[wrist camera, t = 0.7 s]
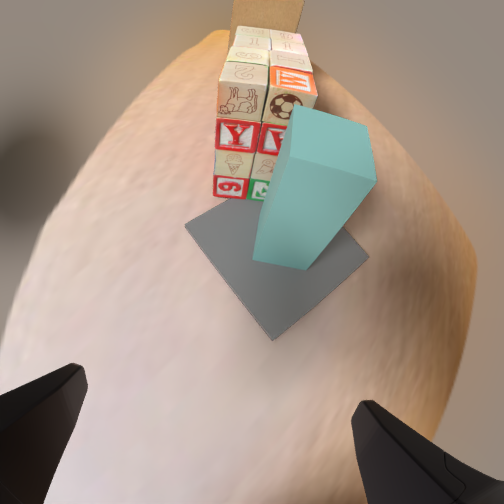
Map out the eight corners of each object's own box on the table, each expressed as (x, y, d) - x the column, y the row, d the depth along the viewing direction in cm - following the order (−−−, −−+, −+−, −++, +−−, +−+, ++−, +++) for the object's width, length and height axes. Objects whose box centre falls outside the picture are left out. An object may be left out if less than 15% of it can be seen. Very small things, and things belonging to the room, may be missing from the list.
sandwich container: (283, 51, 43) (300, -16, 30) (282, 88, 36) (306, -1, 23) (237, 43, 42) (248, -25, 29) (223, 79, 36) (235, -13, 22)
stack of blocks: (234, 82, 35) (244, 6, 24) (278, 88, 36) (296, 13, 25) (212, 197, 26) (217, 77, 15) (280, 205, 26) (319, 92, 15)
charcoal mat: (366, 259, 26) (369, 256, 25) (272, 340, 21) (273, 339, 21) (286, 171, 29) (287, 168, 28) (185, 227, 24) (184, 224, 24)
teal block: (306, 270, 24) (377, 181, 13) (252, 259, 23) (289, 156, 13) (309, 224, 26) (366, 126, 15) (259, 213, 26) (294, 104, 15)
